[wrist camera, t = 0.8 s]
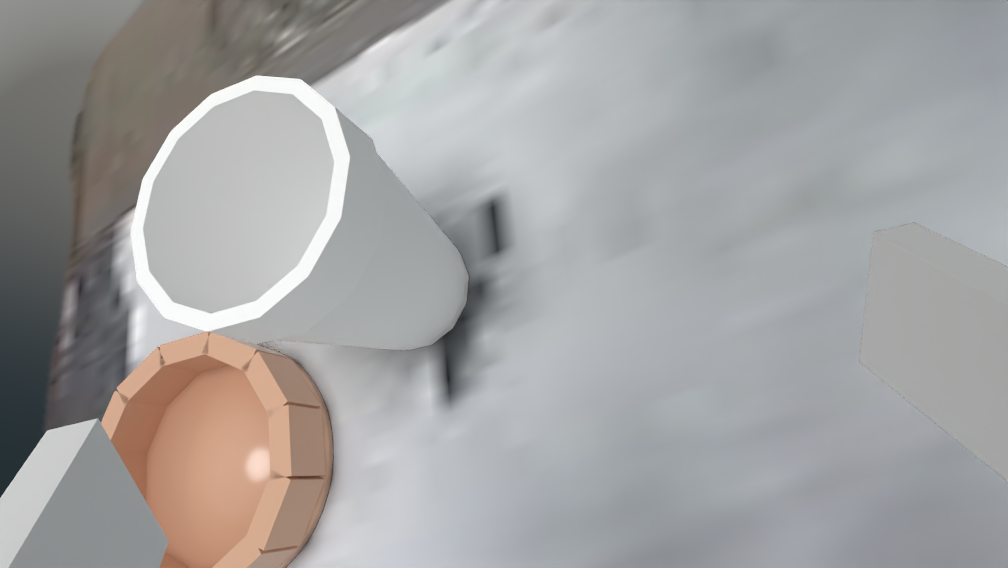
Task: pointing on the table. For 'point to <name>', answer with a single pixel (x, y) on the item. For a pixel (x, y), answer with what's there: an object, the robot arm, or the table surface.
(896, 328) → the robot arm
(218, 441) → the bowl
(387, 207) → the foam cup
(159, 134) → the table surface
